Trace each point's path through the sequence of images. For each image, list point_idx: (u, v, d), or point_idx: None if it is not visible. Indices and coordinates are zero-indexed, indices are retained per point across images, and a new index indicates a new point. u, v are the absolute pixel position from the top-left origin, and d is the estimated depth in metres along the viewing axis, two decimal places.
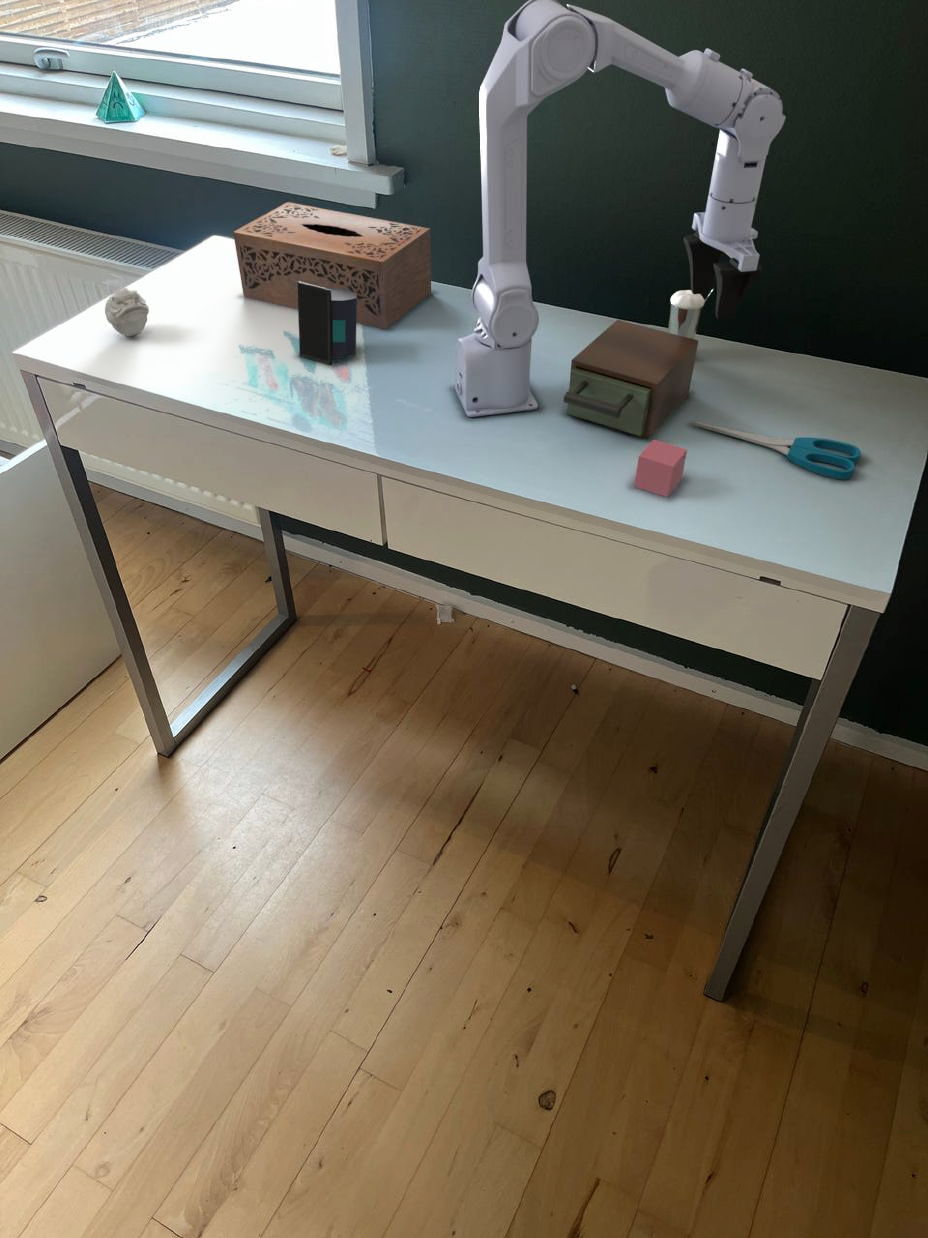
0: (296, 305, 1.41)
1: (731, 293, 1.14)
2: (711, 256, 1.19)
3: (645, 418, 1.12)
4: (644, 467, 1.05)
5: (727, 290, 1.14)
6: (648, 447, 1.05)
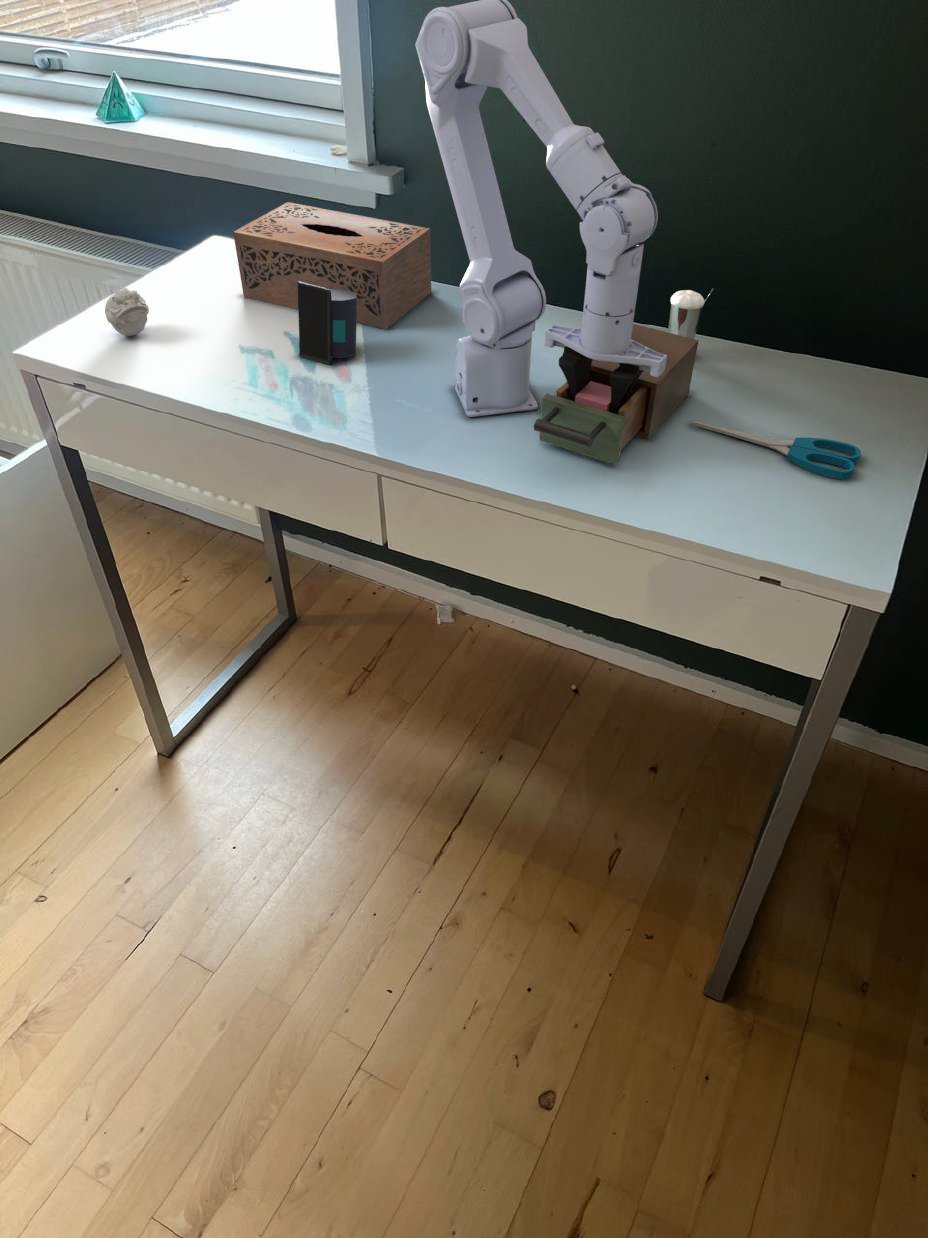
0: (296, 305, 1.41)
1: None
2: (586, 370, 1.10)
3: (619, 446, 1.08)
4: None
5: None
6: (585, 388, 1.11)
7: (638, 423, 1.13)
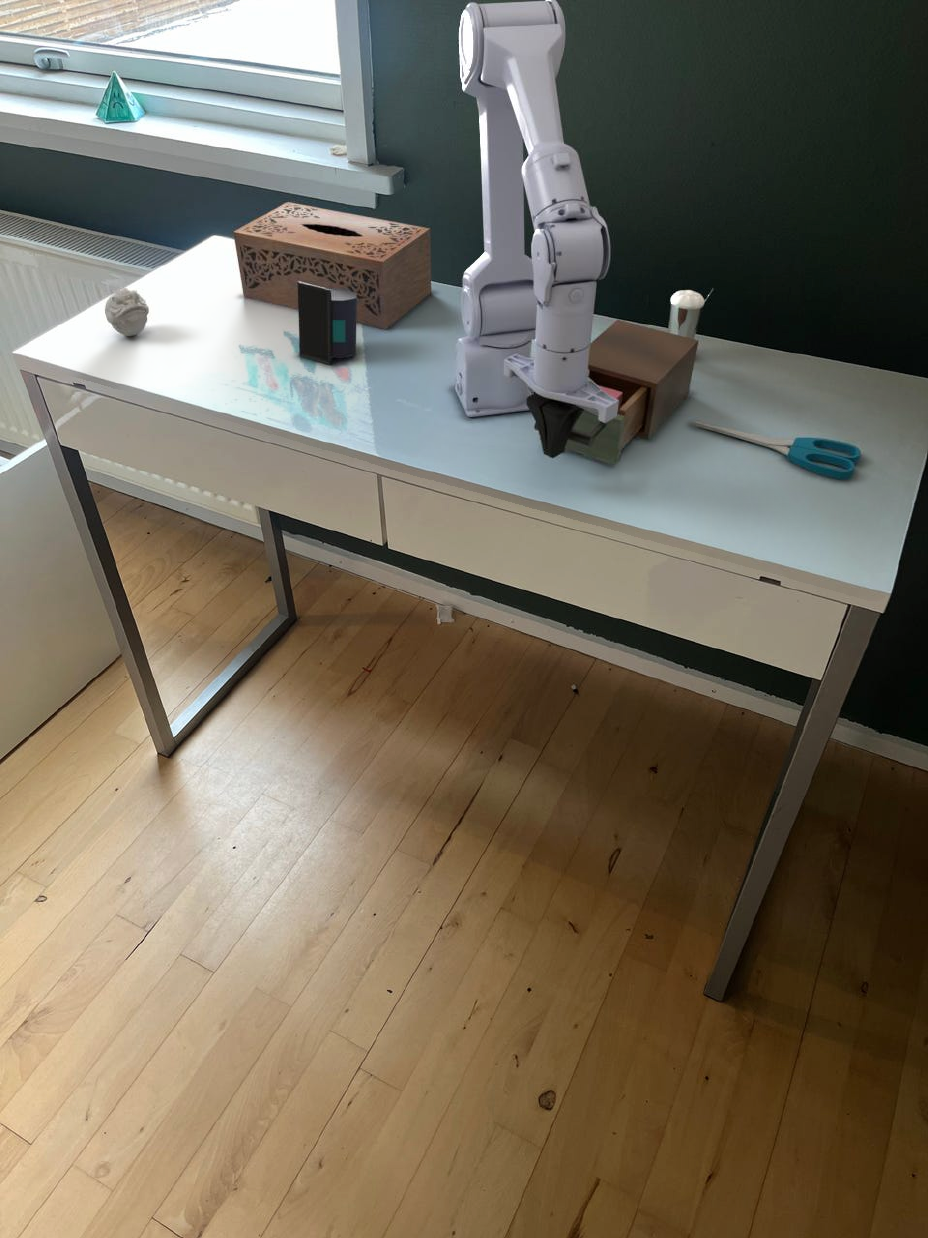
0: (295, 305, 1.41)
1: (561, 429, 1.02)
2: None
3: (620, 446, 1.08)
4: None
5: None
6: None
7: (639, 422, 1.13)
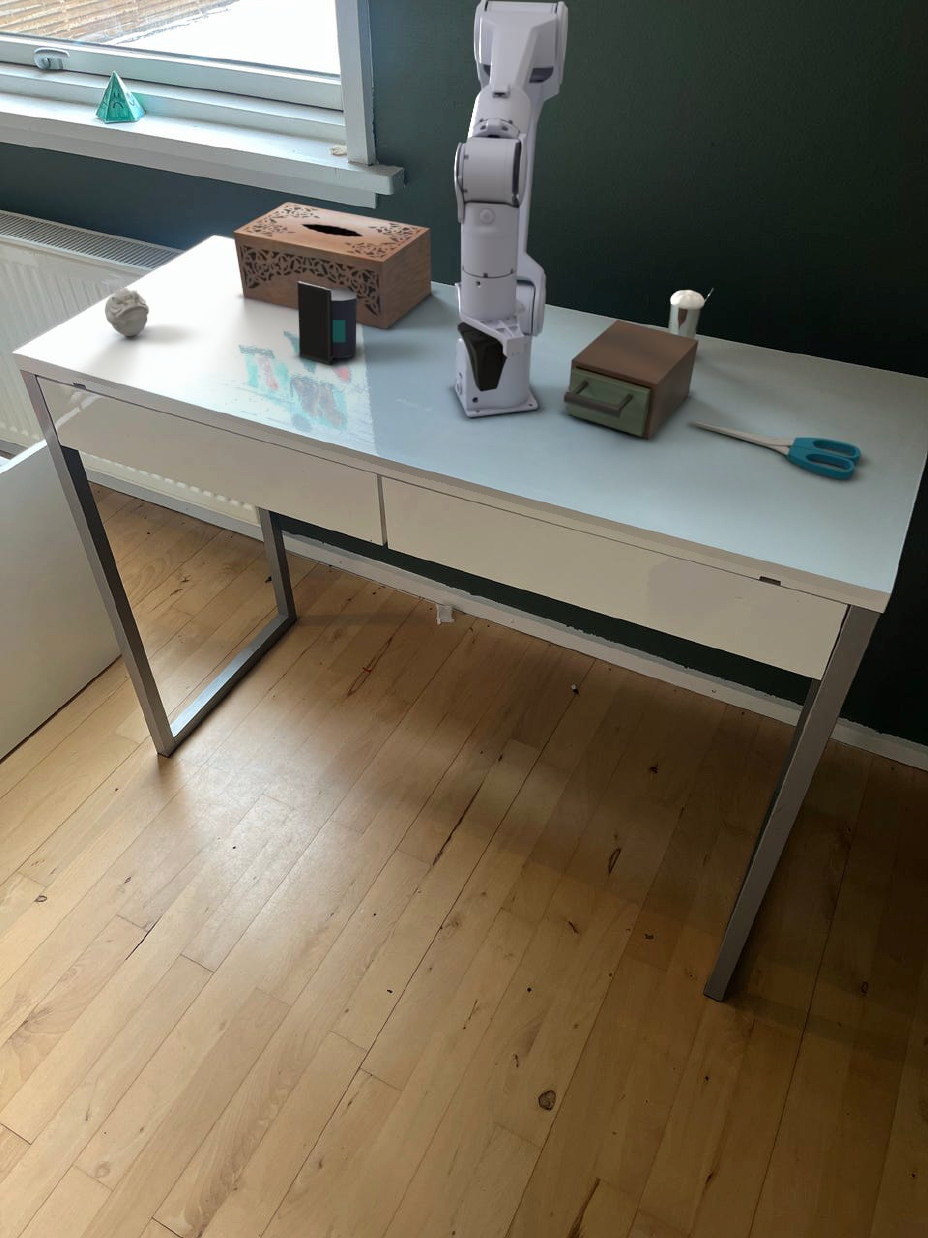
0: (295, 305, 1.41)
1: (490, 363, 1.00)
2: None
3: (645, 418, 1.12)
4: None
5: (484, 360, 1.00)
6: None
7: None
